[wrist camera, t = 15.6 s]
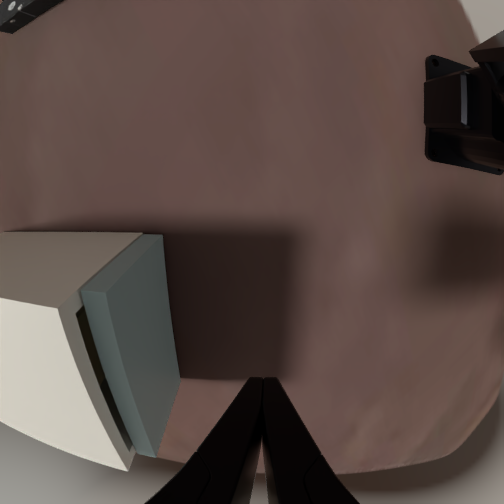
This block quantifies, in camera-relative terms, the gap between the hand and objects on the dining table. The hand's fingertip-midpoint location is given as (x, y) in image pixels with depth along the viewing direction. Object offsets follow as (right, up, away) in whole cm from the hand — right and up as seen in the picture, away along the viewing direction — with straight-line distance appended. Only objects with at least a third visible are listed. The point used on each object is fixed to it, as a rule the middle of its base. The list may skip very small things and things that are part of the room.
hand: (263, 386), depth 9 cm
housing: (-13, 0, +11) cm, 17 cm away
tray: (-12, 0, +11) cm, 16 cm away
